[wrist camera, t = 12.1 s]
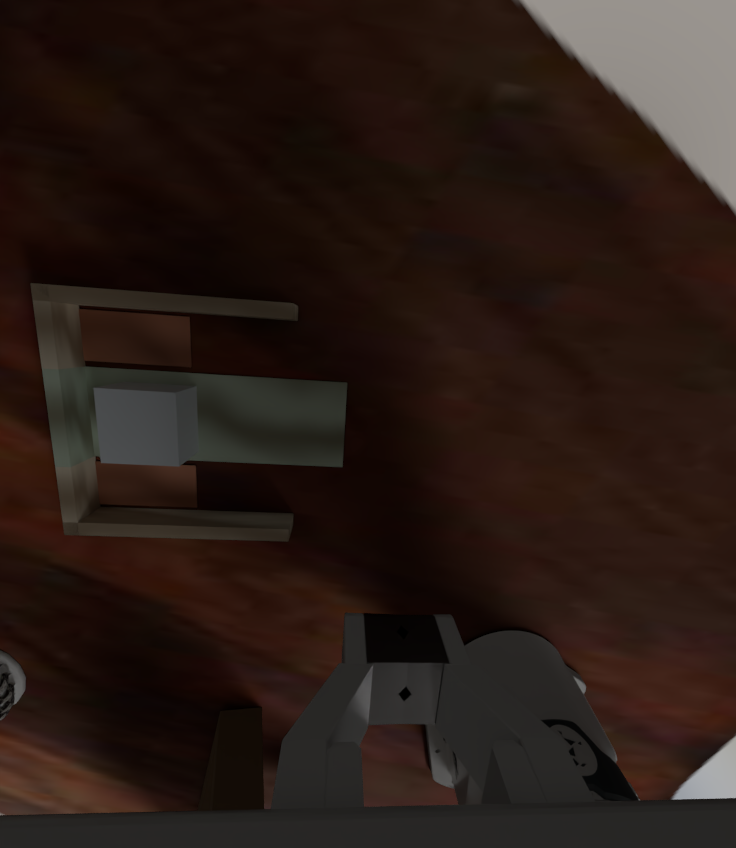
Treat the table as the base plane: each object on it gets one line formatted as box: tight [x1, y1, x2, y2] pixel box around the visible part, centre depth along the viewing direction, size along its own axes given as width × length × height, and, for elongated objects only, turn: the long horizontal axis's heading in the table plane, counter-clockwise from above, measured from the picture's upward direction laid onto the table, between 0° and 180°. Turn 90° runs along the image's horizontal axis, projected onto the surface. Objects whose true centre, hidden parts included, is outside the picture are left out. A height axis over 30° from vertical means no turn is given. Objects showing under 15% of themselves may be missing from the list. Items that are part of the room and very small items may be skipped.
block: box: [93, 382, 199, 467], centre depth 30 cm, size 6×6×4 cm
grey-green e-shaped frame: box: [30, 283, 347, 541], centre depth 31 cm, size 20×24×3 cm
